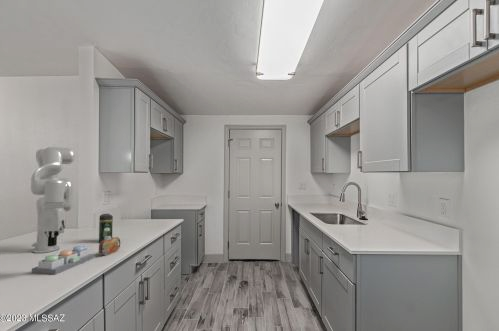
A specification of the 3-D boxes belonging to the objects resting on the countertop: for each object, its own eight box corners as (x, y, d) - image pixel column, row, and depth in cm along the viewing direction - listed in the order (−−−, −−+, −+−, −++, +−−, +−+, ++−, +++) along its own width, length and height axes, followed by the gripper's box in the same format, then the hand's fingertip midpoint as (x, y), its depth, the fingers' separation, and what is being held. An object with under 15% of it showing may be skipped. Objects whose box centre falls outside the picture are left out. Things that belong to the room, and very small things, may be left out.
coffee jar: (98, 240, 184) (98, 213, 185) (111, 239, 188) (111, 212, 189) (99, 243, 176) (100, 215, 177) (112, 242, 180) (113, 214, 181)
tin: (102, 257, 147) (102, 241, 147) (97, 256, 148) (97, 241, 148) (120, 250, 162) (121, 235, 162) (116, 249, 162) (116, 235, 163)
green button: (41, 264, 123) (42, 257, 124) (51, 261, 128) (51, 254, 128) (51, 265, 123) (51, 258, 123) (60, 261, 128) (60, 255, 128)
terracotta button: (57, 258, 132) (57, 252, 132) (65, 256, 137) (65, 249, 137) (66, 259, 131) (66, 253, 131) (74, 256, 136) (74, 250, 136)
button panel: (55, 274, 121) (56, 263, 121) (31, 273, 122) (32, 261, 122) (94, 257, 145) (94, 248, 146) (74, 256, 147) (74, 247, 147)
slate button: (70, 254, 140) (71, 248, 140) (78, 251, 145) (78, 245, 145) (79, 254, 140) (79, 248, 140) (86, 251, 145) (86, 246, 145)
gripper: (32, 206, 124) (30, 247, 123) (61, 206, 122) (60, 248, 121) (46, 205, 131) (44, 243, 130) (74, 205, 129) (73, 244, 128)
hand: (52, 245), depth 126 cm, fingers closed
